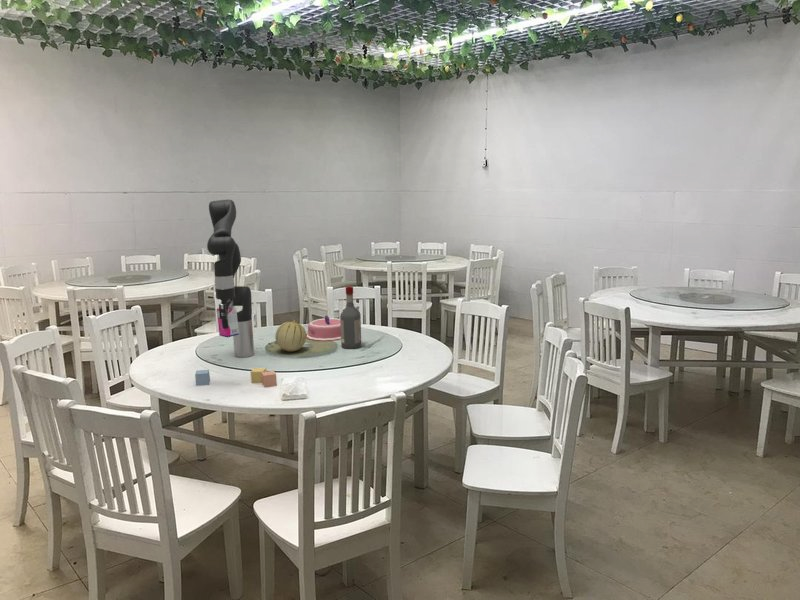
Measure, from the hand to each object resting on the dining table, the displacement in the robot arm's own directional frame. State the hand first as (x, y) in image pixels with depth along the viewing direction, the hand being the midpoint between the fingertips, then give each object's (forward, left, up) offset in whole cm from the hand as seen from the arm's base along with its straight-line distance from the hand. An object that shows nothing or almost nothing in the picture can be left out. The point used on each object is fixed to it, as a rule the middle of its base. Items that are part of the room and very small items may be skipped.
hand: (227, 325), depth 245 cm
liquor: (-48, +48, -24) cm, 72 cm away
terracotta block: (+5, +16, -24) cm, 29 cm away
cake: (-73, +35, -24) cm, 84 cm away
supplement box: (0, 0, -4) cm, 4 cm away
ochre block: (0, +11, -24) cm, 26 cm away
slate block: (0, -12, -24) cm, 27 cm away
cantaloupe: (-44, +19, -24) cm, 54 cm away
